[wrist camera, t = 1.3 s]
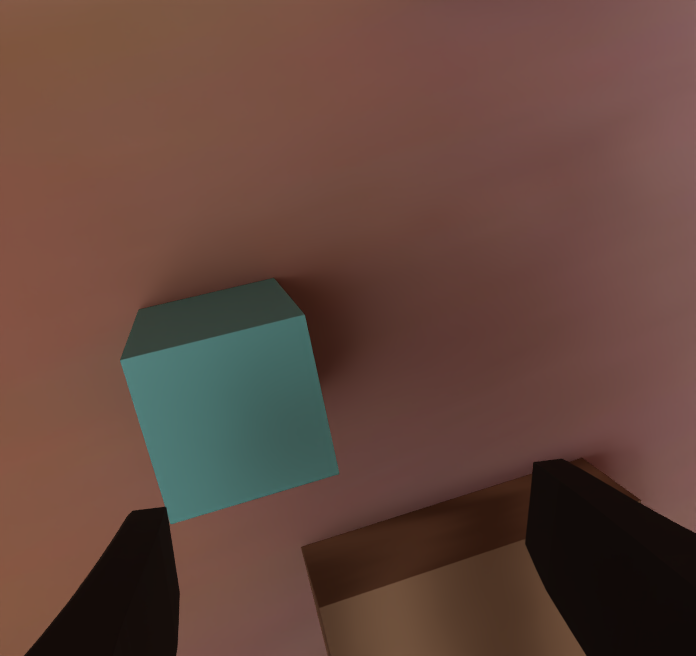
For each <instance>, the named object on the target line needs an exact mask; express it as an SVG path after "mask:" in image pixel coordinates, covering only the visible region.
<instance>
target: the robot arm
mask: <svg viewBox="0 0 696 656" xmlns="http://www.w3.org/2000/svg"><path fill="white" fill-rule="evenodd" d="M525 545H526V547H527V550H528V552H529V554H530V557H531V559H532V561H533V564H534V566H535V568H536V570H537V572H538V575H539V577H540V579H541V581H542V583H543V585H544V587H545V589H546V591H547V593H548V594H549V596H550V598H551V599H552V601H553V603H554V604H555V606H556V608H557V609H558V611H559V613H560V614H561V616H562V617H563V619H564V621H565V622H566V624H567V626H568V627H569V629H570V630H571V632H572V634H573V635H574V637H575V638H576V640H577V642H578V643H579V645H580V646H581V648H582V650H583V651H584V653H585V654H586V656H696V533H694V532H692V531H690V530H688V529H686V528H684V527H682V526H680V525H679V524H677V523H675V522H673V521H671V520H669V519H668V518H666V517H664V516H662V515H660V514H658V513H657V512H655V511H653V510H651V509H650V508H648V507H646V506H644V505H643V504H641V503H639V502H637V501H636V500H634V499H632V498H630V497H629V496H627V495H625V494H623V493H622V492H620V491H618V490H617V489H615V488H613V487H612V486H610V485H608V484H606V483H605V482H603V481H601V480H600V479H598V478H596V477H594V476H593V475H591V474H589V473H588V472H586V471H584V470H582V469H580V468H579V467H577V466H575V465H573V464H571V463H569V462H567V461H565V460H563V459H556V460H548V461H540V462H534V463H533V472H532V482H531V491H530V501H529V510H528V520H527V529H526V539H525ZM179 598H180V591H179V585H178V578H177V572H176V565H175V559H174V552H173V546H172V539H171V533H170V526H169V520H168V513H167V507H160V508H151V509H143V510H135V511H132V512H131V513H130V514H129V515H128V516H127V517H126V519H125V521H124V522H123V524H122V525H121V527H120V529H119V530H118V532H117V533H116V535H115V536H114V538H113V539H112V541H111V542H110V544H109V546H108V547H107V549H106V550H105V551H104V553H103V554H102V556H101V557H100V559H99V560H98V562H97V563H96V565H95V566H94V568H93V569H92V570H91V572H90V573H89V574H88V576H87V577H86V579H85V580H84V581H83V583H82V584H81V585H80V587H79V588H78V590H77V591H76V592H75V594H74V595H73V596H72V598H71V599H70V600H69V602H68V603H67V604H66V606H65V607H64V608H63V609H62V611H61V612H60V613H59V614H58V615H57V617H56V618H55V619H54V620H53V622H52V623H51V624H50V625H49V627H48V628H47V629H46V630H45V632H44V633H43V634H42V635H41V637H40V638H39V639H38V640H37V641H36V643H35V644H34V645H33V646H32V647H31V648H30V649H29V651H28V652H27V653H26V654H25V655H24V656H176V653H177V645H178V625H179Z"/></svg>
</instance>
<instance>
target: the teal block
mask: <svg viewBox="0 0 696 656" xmlns="http://www.w3.org/2000/svg"><path fill="white" fill-rule="evenodd" d="M120 361H121V365H122V368H123V371H124V374H125V378H126V381H127V384H128V387H129V391H130V394H131V397H132V400H133V404H134V407H135V410H136V413H137V416H138V420H139V423H140V426H141V429H142V433H143V436H144V439H145V442H146V446H147V449H148V452H149V455H150V459H151V462H152V465H153V468H154V472H155V475H156V478H157V481H158V485H159V488H160V491H161V494H162V498H163V501H164V504H165V507H167V513H168V517H169V520H170V524H174V523H177V522H180V521H184V520H187V519H190V518H194V517H197V516H200V515H204V514H207V513H210V512H214V511H217V510H220V509H224V508H227V507H230V506H234V505H237V504H241V503H244V502H247V501H251V500H254V499H257V498H261V497H264V496H267V495H271V494H274V493H277V492H281V491H284V490H287V489H291V488H294V487H298V486H301V485H304V484H308V483H311V482H314V481H318V480H321V479H324V478H328V477H331V476H334V475H338V474H339V470H338V465H337V461H336V456H335V451H334V447H333V442H332V438H331V433H330V428H329V424H328V419H327V415H326V410H325V405H324V401H323V396H322V392H321V387H320V382H319V378H318V373H317V369H316V364H315V359H314V355H313V350H312V346H311V341H310V337H309V332H308V327H307V323H306V318H305V314H304V313H303V312H302V311H301V310H300V308H299V307H298V306H297V305H296V304H295V302H294V301H293V300H292V299H291V298H290V297H289V295H288V294H287V293H286V292H285V291H284V289H283V288H282V287H281V286H280V285H279V283H278V282H277V281H276V280H275V279H274V278H271V279H267V280H263V281H258V282H254V283H250V284H246V285H241V286H237V287H233V288H229V289H224V290H220V291H216V292H212V293H207V294H203V295H199V296H194V297H190V298H186V299H182V300H177V301H173V302H169V303H165V304H160V305H156V306H152V307H148V308H143V309H139V310H138V313H137V315H136V318H135V321H134V324H133V326H132V329H131V332H130V335H129V337H128V340H127V343H126V346H125V348H124V351H123V354H122V357H121V359H120Z"/></svg>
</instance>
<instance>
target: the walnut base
mask: <svg viewBox="0 0 696 656" xmlns="http://www.w3.org/2000/svg"><path fill="white" fill-rule="evenodd" d="M569 463H571V464H573V465H575V466H577V467H579V468H580V469H582V470H584V471H586V472H588V473H589V474H591V475H593V476H594V477H596V478H598V479H600V480H601V481H603V482H605V483H606V484H608V485H610V486H612V487H613V488H615V489H617V490H618V491H620V492H622V493H623V494H625V495H627V496H629V497H630V498H632V499H634V500H636V501H637V502H639V503H641V500H640V499H638V498H637V497H636V496H634V495H633V494H631V493H630V492H629V491H627V490H626V489H625V488H623V487H622V486H620V485H619V484H618V483H616V482H615V481H613V480H612V479H611V478H609V477H608V476H606V475H605V474H604V473H602V472H601V471H600V470H598V469H597V468H595V467H594V466H593V465H591V464H590V463H588V462H587V461H586V460H584V459H583V458H580V459H577V460H574V461H571V462H569ZM531 482H532V474H530V475H526V476H523V477H520V478H517V479H514V480H511V481H508V482H504V483H501V484H498V485H495V486H492V487H489V488H486V489H482V490H479V491H476V492H473V493H470V494H467V495H463V496H460V497H457V498H454V499H451V500H448V501H445V502H441V503H438V504H435V505H432V506H429V507H426V508H423V509H419V510H416V511H413V512H410V513H407V514H404V515H401V516H397V517H394V518H391V519H388V520H385V521H382V522H378V523H375V524H372V525H369V526H366V527H363V528H360V529H356V530H353V531H350V532H347V533H344V534H341V535H338V536H334V537H331V538H328V539H325V540H322V541H319V542H316V543H312V544H309V545H306V546H303V547H301V549H302V553H303V557H304V561H305V565H306V569H307V573H308V577H309V581H310V586H311V590H312V594H313V598H314V602H315V606H316V610H317V614H318V618H319V622H320V626H321V630H322V634H323V638H324V642H325V646H326V650H327V654H328V656H586V654H585V653H584V651H583V650H582V648H581V646H580V645H579V643H578V642H577V640H576V638H575V637H574V635H573V634H572V632H571V630H570V629H569V627H568V626H567V624H566V622H565V621H564V619H563V617H562V616H561V614H560V613H559V611H558V609H557V608H556V606H555V604H554V603H553V601H552V599H551V598H550V596H549V594H548V593H547V591H546V589H545V587H544V585H543V583H542V581H541V579H540V577H539V575H538V572H537V570H536V568H535V566H534V564H533V561H532V559H531V557H530V554H529V552H528V550H527V547H526V545H525V539H526V529H527V520H528V510H529V501H530V491H531Z"/></svg>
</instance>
